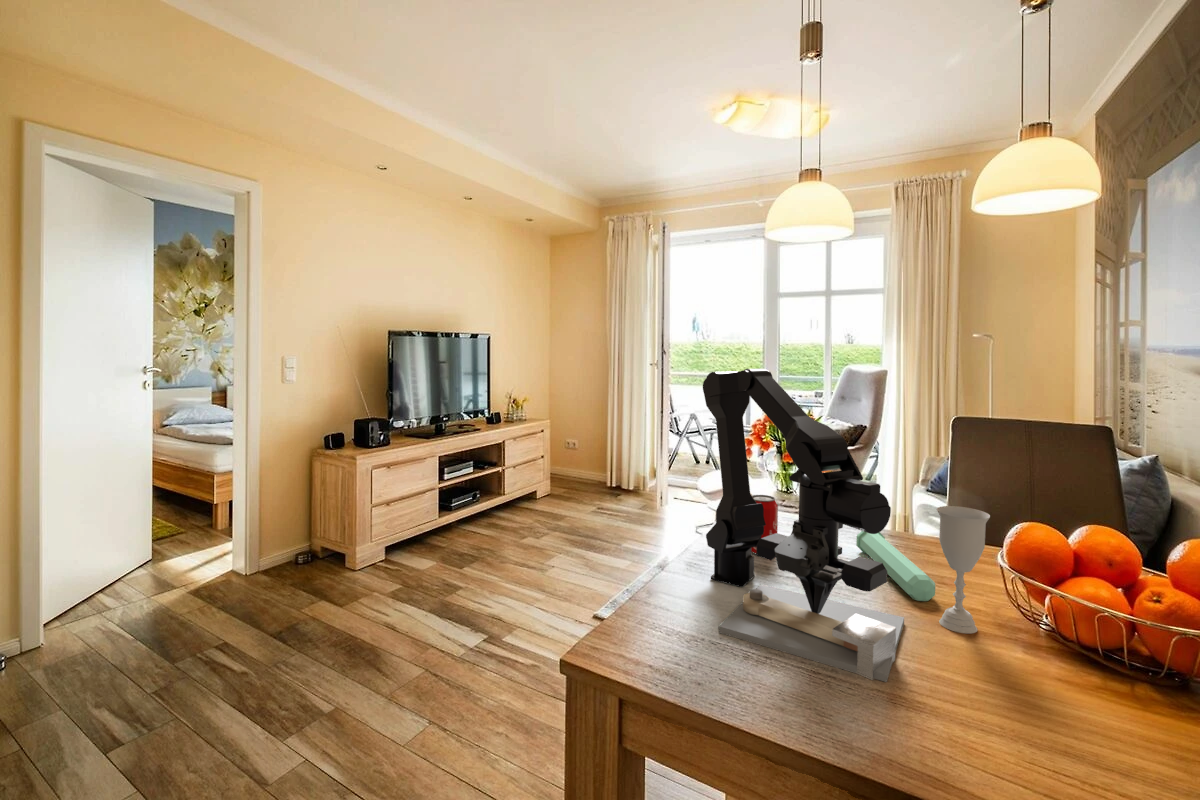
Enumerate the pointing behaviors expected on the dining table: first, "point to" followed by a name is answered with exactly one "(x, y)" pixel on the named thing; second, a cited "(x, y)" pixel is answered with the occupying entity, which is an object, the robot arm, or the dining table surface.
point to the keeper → (868, 642)
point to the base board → (802, 642)
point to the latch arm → (792, 616)
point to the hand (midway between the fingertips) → (816, 613)
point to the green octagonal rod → (897, 566)
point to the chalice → (961, 557)
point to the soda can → (768, 515)
